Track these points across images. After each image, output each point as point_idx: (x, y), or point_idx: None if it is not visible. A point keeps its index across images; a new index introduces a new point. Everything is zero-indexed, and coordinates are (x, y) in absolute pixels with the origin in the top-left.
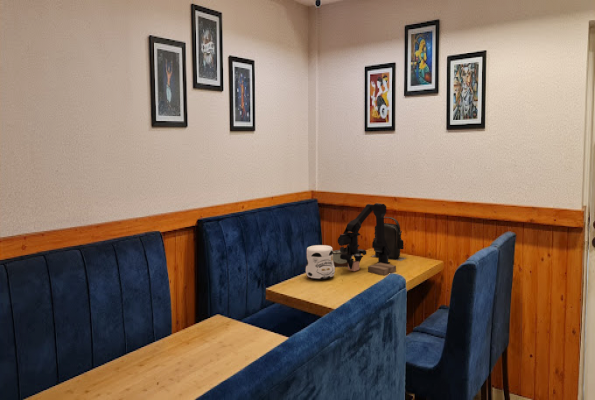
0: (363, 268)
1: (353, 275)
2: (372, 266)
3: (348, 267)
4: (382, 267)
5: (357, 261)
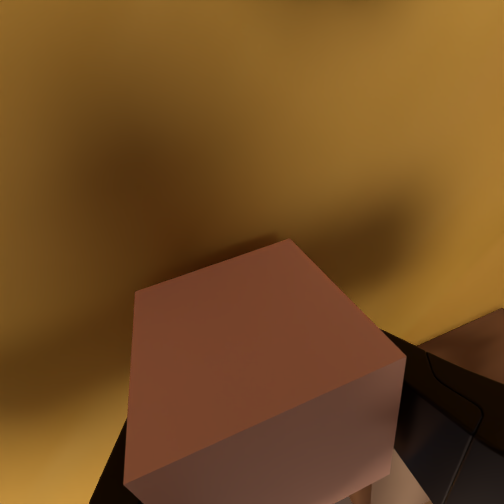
0: (411, 249)
1: (106, 460)
2: (398, 461)
3: (139, 338)
4: (420, 487)
5: (377, 462)
